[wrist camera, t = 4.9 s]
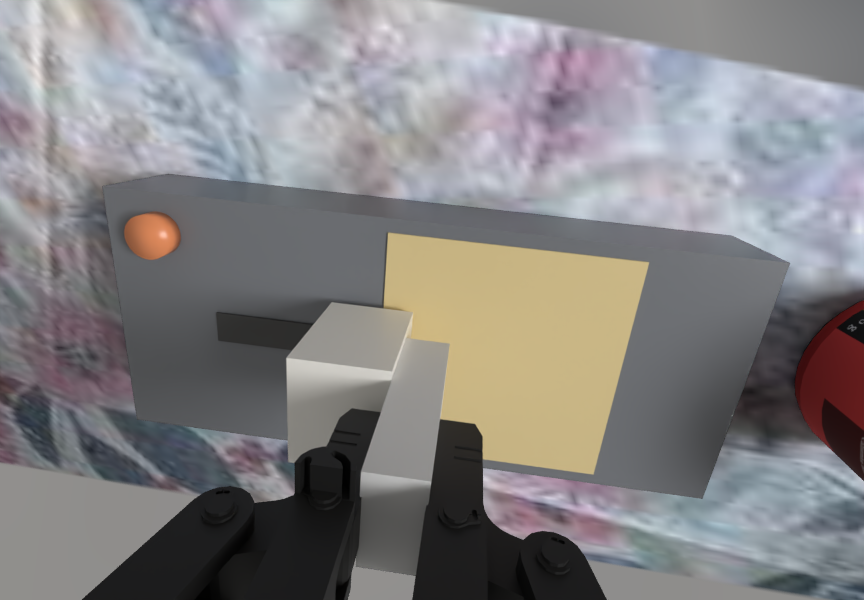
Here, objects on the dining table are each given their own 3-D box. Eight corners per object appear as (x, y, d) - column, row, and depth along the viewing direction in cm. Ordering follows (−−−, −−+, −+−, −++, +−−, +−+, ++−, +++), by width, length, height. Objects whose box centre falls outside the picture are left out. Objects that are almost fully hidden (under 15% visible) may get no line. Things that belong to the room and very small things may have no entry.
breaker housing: (732, 235, 20) (804, 270, 15) (667, 437, 23) (711, 513, 19) (168, 173, 21) (85, 189, 17) (188, 373, 25) (124, 430, 20)
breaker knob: (413, 312, 18) (391, 371, 13) (405, 397, 19) (384, 475, 15) (331, 302, 18) (286, 357, 14) (329, 387, 19) (288, 461, 15)
